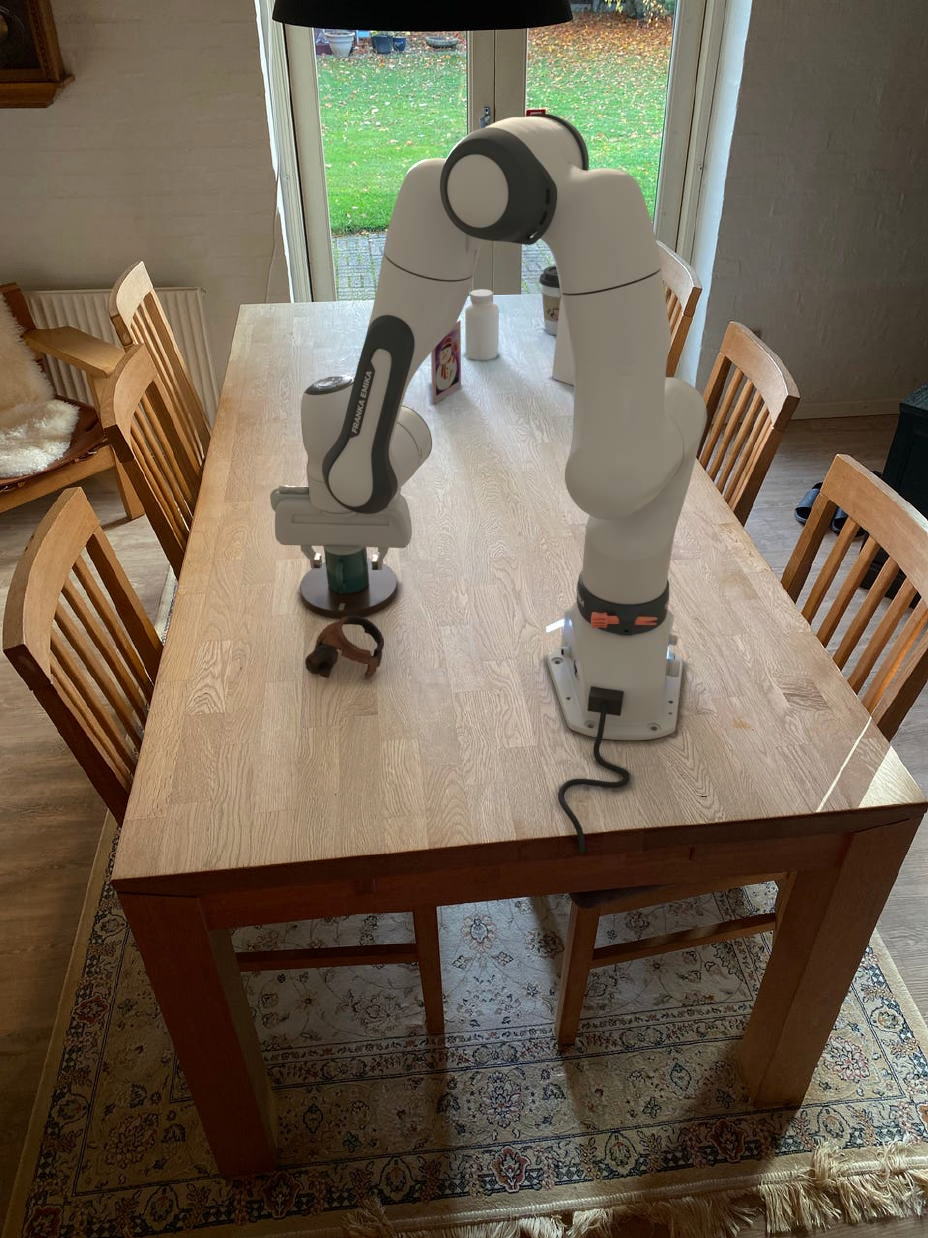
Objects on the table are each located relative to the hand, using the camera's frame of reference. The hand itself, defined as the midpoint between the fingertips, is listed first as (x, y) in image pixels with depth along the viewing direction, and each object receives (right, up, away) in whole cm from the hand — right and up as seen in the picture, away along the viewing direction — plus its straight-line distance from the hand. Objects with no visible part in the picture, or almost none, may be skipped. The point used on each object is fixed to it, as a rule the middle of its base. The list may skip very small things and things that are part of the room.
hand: (347, 567), depth 143 cm
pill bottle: (+22, +56, +83) cm, 102 cm away
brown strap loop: (+1, -15, -13) cm, 20 cm away
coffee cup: (+42, +66, +96) cm, 124 cm away
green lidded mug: (0, -3, +1) cm, 3 cm away
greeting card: (+12, +42, +65) cm, 78 cm away
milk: (+46, +47, +71) cm, 97 cm away
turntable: (0, -4, +3) cm, 4 cm away
